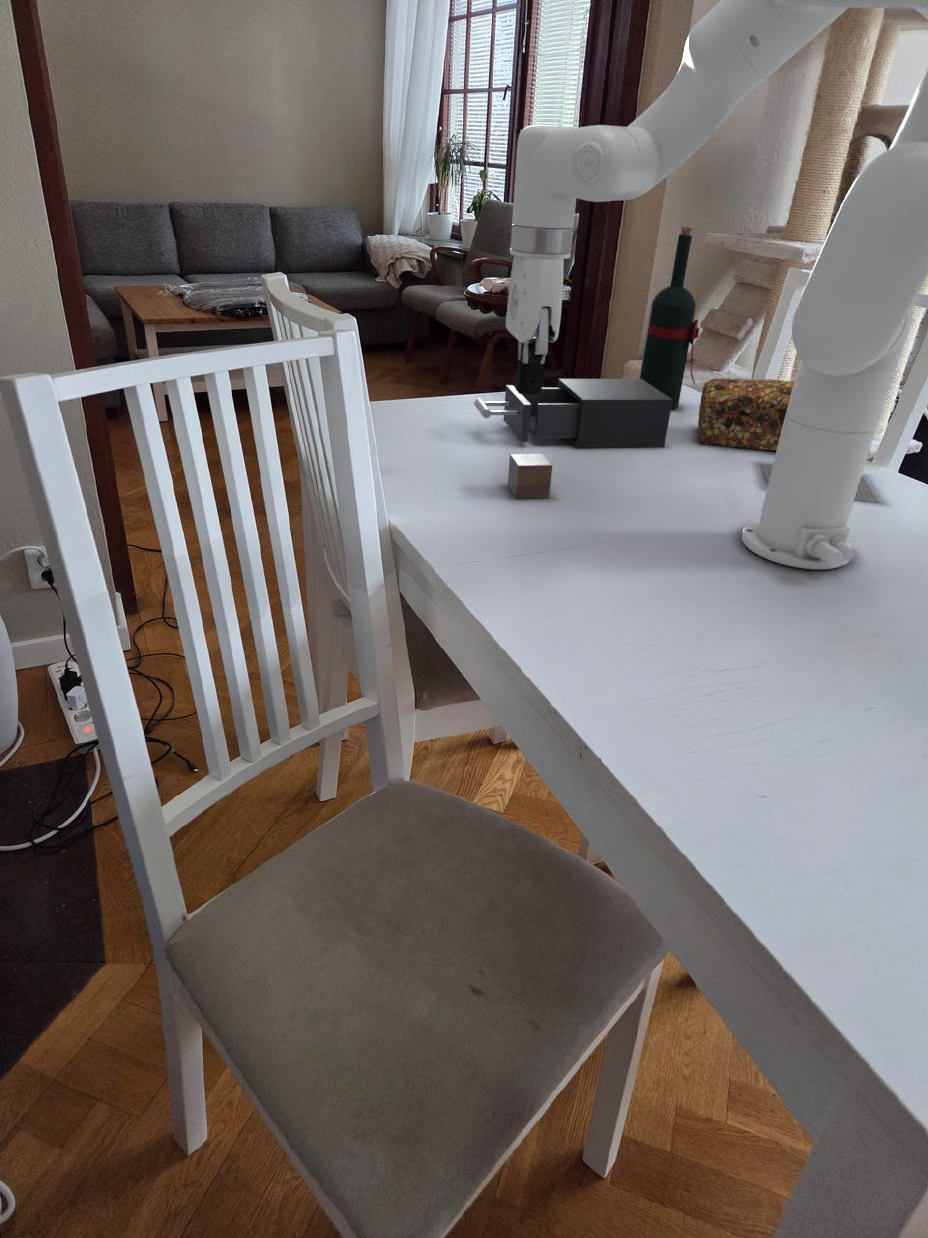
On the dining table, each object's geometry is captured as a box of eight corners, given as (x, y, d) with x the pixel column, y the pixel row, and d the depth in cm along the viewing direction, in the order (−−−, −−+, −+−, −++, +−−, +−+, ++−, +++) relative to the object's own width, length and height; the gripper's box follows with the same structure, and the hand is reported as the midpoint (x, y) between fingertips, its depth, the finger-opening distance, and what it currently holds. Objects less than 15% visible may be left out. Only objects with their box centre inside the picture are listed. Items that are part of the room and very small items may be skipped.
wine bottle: (688, 414, 148) (723, 231, 133) (632, 407, 151) (660, 226, 136) (692, 404, 155) (726, 228, 140) (638, 397, 157) (665, 223, 142)
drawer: (484, 442, 125) (487, 404, 123) (469, 420, 135) (471, 384, 132) (603, 441, 129) (608, 404, 126) (580, 419, 139) (585, 385, 136)
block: (549, 498, 109) (552, 465, 107) (515, 499, 108) (518, 465, 106) (539, 485, 113) (543, 453, 111) (507, 486, 112) (509, 453, 110)
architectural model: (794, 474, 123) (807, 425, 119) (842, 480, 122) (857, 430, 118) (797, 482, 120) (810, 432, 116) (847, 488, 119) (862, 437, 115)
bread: (807, 438, 139) (823, 378, 134) (816, 458, 130) (833, 395, 125) (694, 425, 142) (706, 367, 137) (695, 444, 133) (708, 382, 128)
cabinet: (576, 448, 128) (582, 399, 124) (553, 424, 139) (558, 378, 135) (664, 447, 131) (672, 399, 127) (634, 423, 142) (642, 378, 138)
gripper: (498, 235, 107) (489, 378, 116) (526, 248, 94) (513, 408, 103) (554, 237, 108) (541, 378, 117) (588, 250, 95) (571, 408, 105)
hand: (528, 392), depth 110 cm, fingers closed
